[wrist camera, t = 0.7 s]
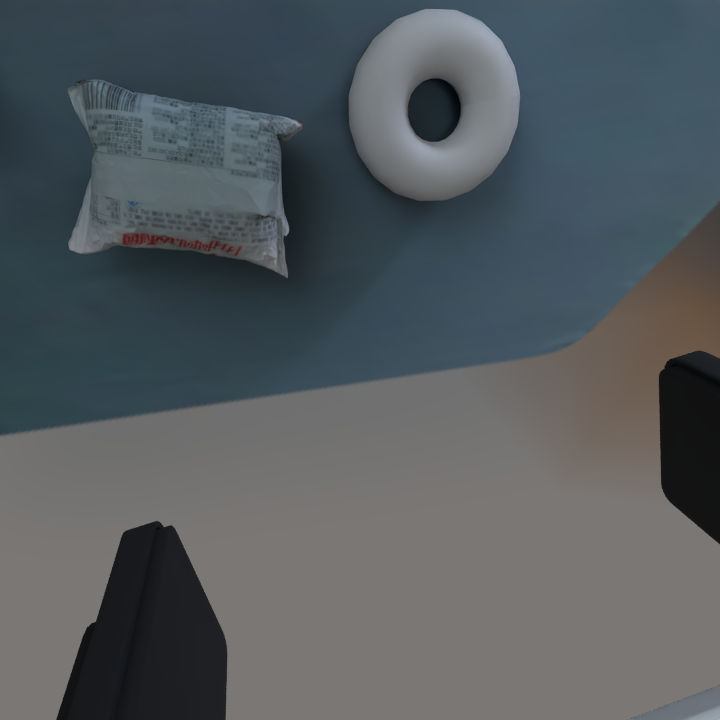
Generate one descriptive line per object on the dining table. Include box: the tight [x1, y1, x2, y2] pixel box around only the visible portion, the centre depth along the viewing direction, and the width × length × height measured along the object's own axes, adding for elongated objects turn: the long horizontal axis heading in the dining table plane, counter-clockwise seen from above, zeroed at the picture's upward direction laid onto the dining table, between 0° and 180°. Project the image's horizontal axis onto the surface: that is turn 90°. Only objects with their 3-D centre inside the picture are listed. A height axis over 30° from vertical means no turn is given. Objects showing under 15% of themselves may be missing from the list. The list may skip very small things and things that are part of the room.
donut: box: [349, 9, 520, 201], centre depth 32 cm, size 10×3×10 cm
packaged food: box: [68, 80, 303, 278], centre depth 30 cm, size 9×12×5 cm
